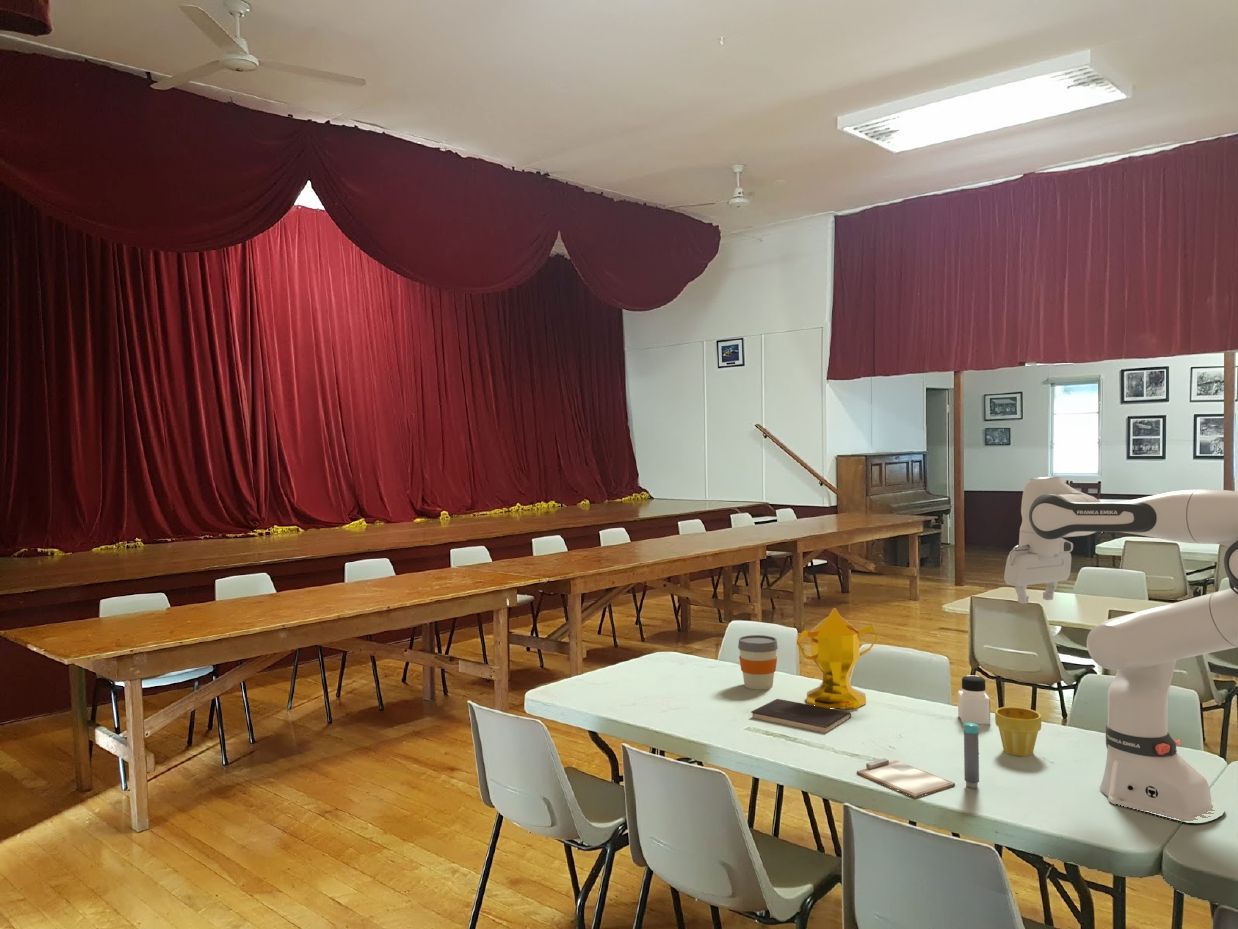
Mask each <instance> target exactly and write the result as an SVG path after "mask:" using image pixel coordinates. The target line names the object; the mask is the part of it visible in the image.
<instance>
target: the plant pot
mask: <svg viewBox="0 0 1238 929" xmlns="http://www.w3.org/2000/svg"><path fill="white" fill-rule="evenodd" d="M994 716H995V717H994V718H995V719H994V720H995V725H996V726H997V727H998V731H999V735H1000V740H1001V744H1002V749H1003V751H1004V752H1005V753H1006V754H1008V755H1011V756H1015V757H1029V756H1031V755H1033V754H1034V750H1035V745H1036V741H1037V737H1038V734H1039V732H1040V730H1042V714H1041V713H1040V712H1038V711H1035V710H1033V709H1030V708H1027V707H1020V706H1019V707H1018V706H1002V707H999V708H997V709H995V714H994Z"/></svg>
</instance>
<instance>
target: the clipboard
mask: <svg viewBox="0 0 1238 929" xmlns="http://www.w3.org/2000/svg"><path fill="white" fill-rule="evenodd" d="M865 767H866V768H863V769H860V770H857V771H856V774H857V775H859V776H861V777H863V778H866V779H868V780H870V781H872V782H875V783H878V784H880V785H882V784H883V785H882V786H884V787H886V786H887V788H889V787H891V788H893V789H895V790H894V791H896V790H899V791H900V792H902V793H901V794H903V793H904V794H903V795H905V794H907V795H910V796H911V797H910V796H909V797H910V798H912V797H919V796H922V795H925V794H928V795H931V794H933V793H932V792H934V793H936V791H937V792H940V791H943V790H946V789H945V788H947V787H950V788H953V787H955V786H956V783H955V782H953V781H950V780H948V779H946V778H943V777H940V776H938V775H935V774H932V773H930V772H928V771H925V770H923V769H920V768H917V767H914V766H912V765H909V764H906V763H904V762H902V761H900V760H897V759H895V760H892V761H891V760H889V759H887V758H881V759H877V760H873V761H870V762H867V763H865ZM954 785H955V786H954ZM952 786H953V787H952ZM891 788H890V789H891ZM893 789H892V790H893ZM947 789H948V788H947ZM939 790H940V791H939ZM900 792H899V793H900ZM930 793H931V794H930ZM907 795H906V796H907ZM925 796H926V795H925ZM922 797H923V796H922ZM919 798H920V797H919Z"/></svg>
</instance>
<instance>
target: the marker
mask: <svg viewBox="0 0 1238 929" xmlns="http://www.w3.org/2000/svg"><path fill="white" fill-rule="evenodd" d="M979 726H980V724H975V723H963V756H964V757H963V759H964V760H963V762H964V763H963V765H964V770H963V771H964V774H963V775H964V781H965V787H966V788H967V787H968V788H967V789H969V788H970V789H969V790H977V789H978V784H979V782H980V762H979V761H980V759H979V758H980V757H979V755H980V753H979V752H980V751H979V750H980V749H979V747H980V745H979V740H980V739H979V732H980V730H979Z"/></svg>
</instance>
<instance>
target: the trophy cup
mask: <svg viewBox="0 0 1238 929" xmlns="http://www.w3.org/2000/svg"><path fill="white" fill-rule="evenodd" d="M870 632H873V634H874V635H875V637H874V638H873V640H872V643H871V645H870V646H869V647H868V648H866V649H865V650H862V651H861V652H860V636H862V635H864V634H867V633H870ZM804 637H808V638H811V656H810V655H806V654H805V652H804V650H803V647H802V646H801V645H800V644H801V643H800V642H801V641H802V640H803V639H804ZM877 640H878V633H877V631H876V630H875V628H874V627H873V625H872V624H871V625H869V626H866V627H863V628H861V629H859V630H858V628H856V627H855V626H854V625H853V624H851V623H850V622H849V621H848V620H846V619H845V618H844V617H843V616H841V614H840V613H839V611H838V610H837V608H835V607H833V608H832V609H831V612H830V613H829V615H828V616H827V617H825V618H823V619H822V620H821V621H820V622H819V623H818V624H816V625H815V626H814V627H813V628H811V631H809V630H803V629H802V632H800V635H799V637H798V638H797V640H796V646H797V647H798V649H799V650H800V652H801V655H802V656H803V658H804V659H806V660H811V661H814V662H815V664H816V666H817V667H818V669H819V670H820V671H821V673H822V682H820V684H819V686H818V687H815V688H813V689H809V690H808V691H806V703H807V702H808V703H807V704H809V703H810V704H809V705H815V706H819V707H824V708H841V709H840V710H844V709H843V708H852V709H859V708H860V707H859V706H861V705H863V706H865V705H867V697H866V696H867V695H866V693H864V692H863V691H860V690H858V689H856V688H854V687H853V686H852V685H851V683H850V673H851V672H852V670H853V669H854V667H855V666H856V664H857V662H858V661H859V659H860V657H861V656H863V655H865V654H866V653H868V652H870V651H871V650H872V648H873V647H874V645H875V644H876V642H877ZM864 704H865V705H864ZM861 707H862V706H861Z"/></svg>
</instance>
